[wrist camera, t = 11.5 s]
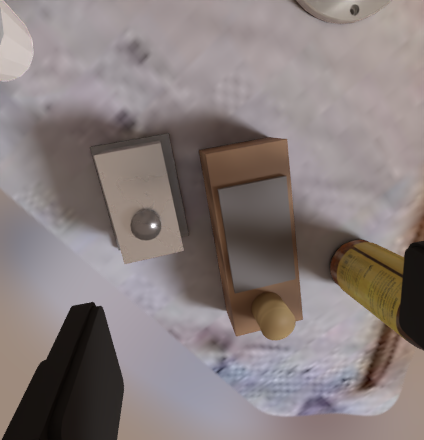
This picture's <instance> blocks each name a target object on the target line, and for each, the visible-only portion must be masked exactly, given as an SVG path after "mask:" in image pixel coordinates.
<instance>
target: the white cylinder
mask: <svg viewBox="0 0 424 440" xmlns="http://www.w3.org/2000/svg"><path fill="white" fill-rule="evenodd" d="M33 55H34V52H33V41H32V38H31V35H30V33H29V31H28V29H27V27H26V25H25V24H24V23H23V21H22V20H21V19H20V18H19V17H18V16H17V15H16V14H15V13H14V11H13V10H12V9H11V8H10V7H9V6H8V5H7V4H6V3H5V1H4V0H0V81H4V82H8V81H11V80H14V79H17V78H19V77H21V76H22V75H23V74H24V73H25V72H26V71H27V70H28V69H29V68H30V65H31V61H32V58H33Z"/></svg>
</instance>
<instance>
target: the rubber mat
mask: <svg viewBox="0 0 424 440" xmlns="http://www.w3.org/2000/svg"><path fill="white" fill-rule="evenodd" d="M158 140H160V143H161V148H162V152H163V157H164V162H165V166H166V171H167V175H168V180H169V185H170V189H171V194H172V198H173V203H174V208H175V212H176V217H177V221H178V226H179V231H180V235H181V237H183V236H188V235H189V233H188V228H187V223H186V218H185V213H184V208H183V203H182V198H181V193H180V188H179V183H178V178H177V173H176V168H175V163H174V158H173V153H172V148H171V143H170V138H169V133H167V134H162V135H156V136H150V137H145V138H139V139H133V140H128V141H122V142H116V143H111V144H105V145H99V146H94V147H90V149H91V153H92V156H93V160H94V163H95V167H96V171H97V174H98V178H99V181H100V185H101V189H102V192H103V196H104V199H105V203H106V206H107V210H108V214H109V217H110V221H111V224H112V228H113V232H114V235H115V239H116V242H117V246H118V250H120V246H119V243H118V239H117V236H116V232H115V229H114V225H113V222H112V218H111V215H110V211H109V208H108V204H107V201H106V197H105V194H104V190H103V187H102V183H101V180H100V176H99V173H98V169H97V166H96V162H95V158H94V155H96V154H98V153H100V152H102V151H104V150H110V149H115V148H120V147H126V146H131V145H137V144H142V143H147V142H153V141H158Z"/></svg>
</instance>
